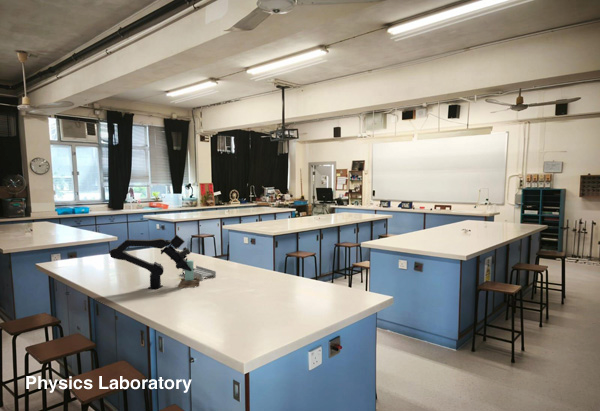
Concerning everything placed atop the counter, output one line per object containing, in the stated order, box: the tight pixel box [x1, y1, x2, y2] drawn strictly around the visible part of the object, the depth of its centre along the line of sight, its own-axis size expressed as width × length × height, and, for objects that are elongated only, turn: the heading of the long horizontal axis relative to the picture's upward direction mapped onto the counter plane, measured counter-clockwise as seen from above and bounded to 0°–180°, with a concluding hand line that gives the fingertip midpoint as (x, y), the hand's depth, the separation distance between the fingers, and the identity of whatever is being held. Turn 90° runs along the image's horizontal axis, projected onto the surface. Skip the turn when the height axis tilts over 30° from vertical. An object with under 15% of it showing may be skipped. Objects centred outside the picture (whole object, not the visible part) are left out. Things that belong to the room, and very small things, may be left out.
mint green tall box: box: [184, 259, 196, 281], centre depth 220 cm, size 6×4×12 cm, turn 105°
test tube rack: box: [182, 265, 217, 281], centre depth 243 cm, size 25×4×13 cm
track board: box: [178, 276, 201, 289], centre depth 220 cm, size 12×10×4 cm
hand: (191, 270), depth 220 cm, fingers closed on mint green tall box, 3 cm apart
